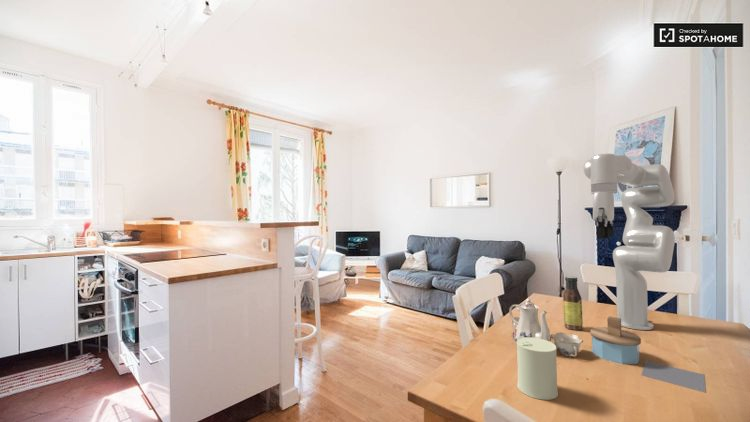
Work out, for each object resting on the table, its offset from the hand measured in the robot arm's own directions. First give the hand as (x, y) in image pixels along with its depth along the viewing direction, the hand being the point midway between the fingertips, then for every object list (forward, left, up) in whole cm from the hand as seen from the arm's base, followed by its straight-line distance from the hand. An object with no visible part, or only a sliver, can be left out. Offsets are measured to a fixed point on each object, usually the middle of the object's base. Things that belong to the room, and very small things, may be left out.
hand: (605, 237), depth 110 cm
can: (+50, -7, -36) cm, 62 cm away
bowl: (+14, +4, -36) cm, 39 cm away
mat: (+18, +17, -36) cm, 44 cm away
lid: (+14, +4, -30) cm, 34 cm away
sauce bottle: (-6, -12, -36) cm, 39 cm away
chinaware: (+21, -17, -37) cm, 45 cm away
